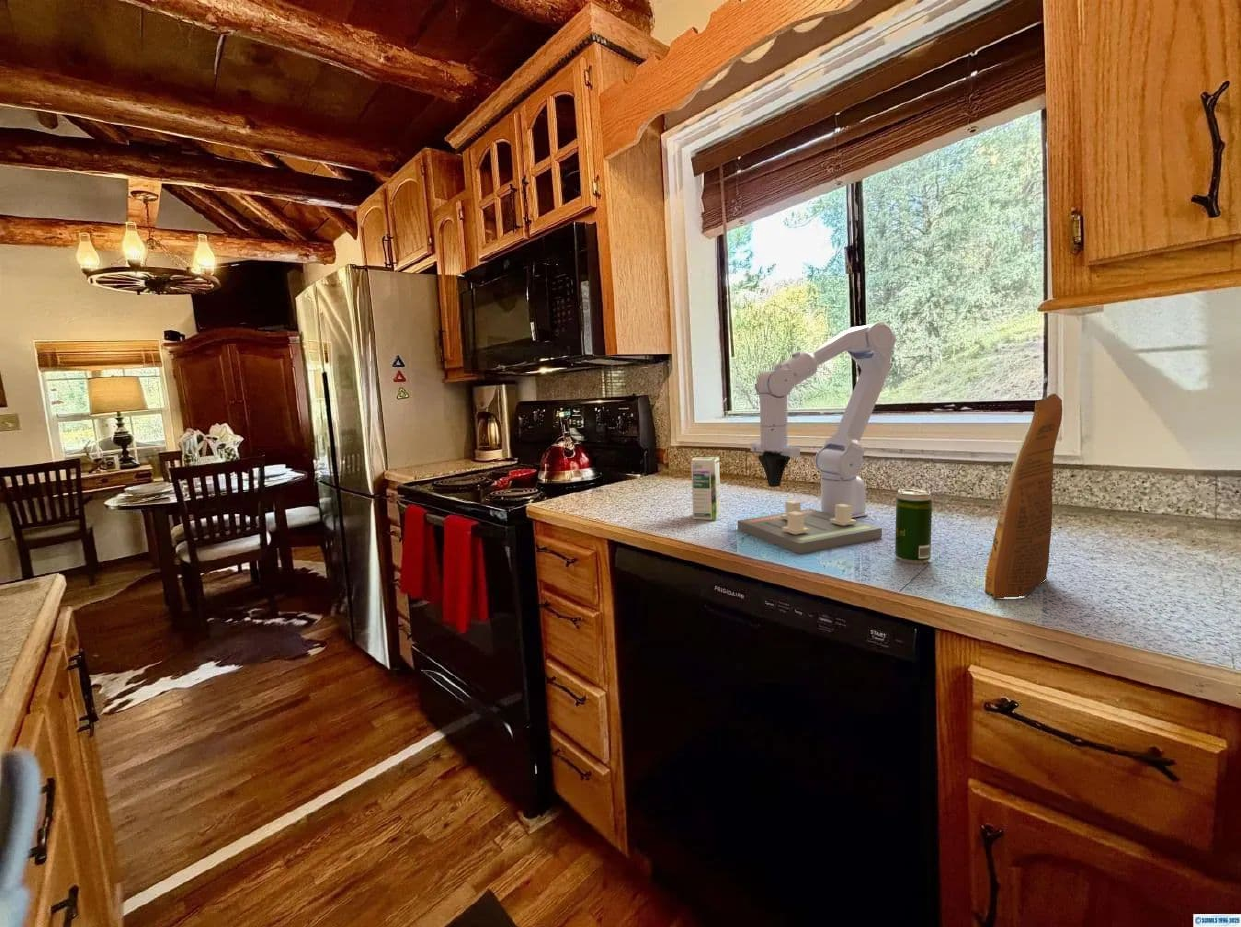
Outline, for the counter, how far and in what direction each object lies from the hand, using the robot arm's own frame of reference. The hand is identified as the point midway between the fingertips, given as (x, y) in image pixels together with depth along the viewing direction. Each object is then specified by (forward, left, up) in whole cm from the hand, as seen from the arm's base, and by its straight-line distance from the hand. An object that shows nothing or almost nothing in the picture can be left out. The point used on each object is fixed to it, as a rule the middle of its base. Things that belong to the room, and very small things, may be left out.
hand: (774, 486), depth 120 cm
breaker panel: (0, +10, -8) cm, 13 cm away
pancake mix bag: (-7, +48, -9) cm, 50 cm away
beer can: (-4, +32, -9) cm, 34 cm away
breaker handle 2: (-6, +14, -6) cm, 17 cm away
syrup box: (+10, -13, -9) cm, 18 cm away
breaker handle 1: (+6, +14, -6) cm, 17 cm away
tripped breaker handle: (0, +6, -6) cm, 9 cm away
